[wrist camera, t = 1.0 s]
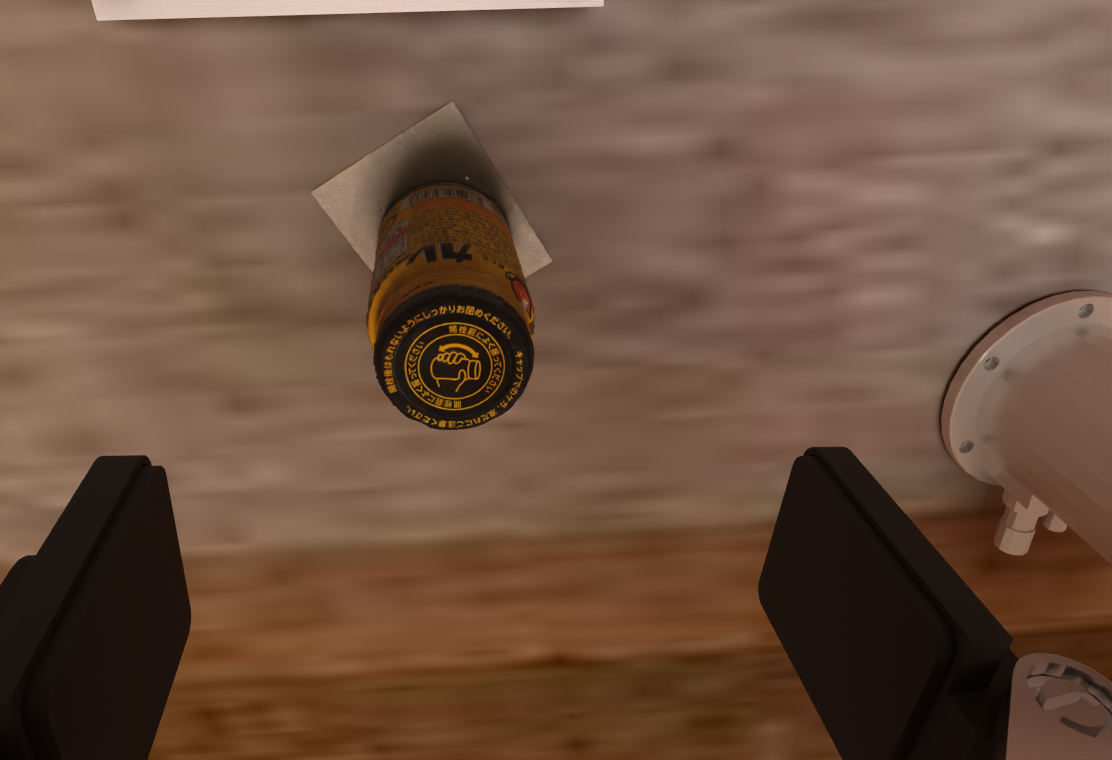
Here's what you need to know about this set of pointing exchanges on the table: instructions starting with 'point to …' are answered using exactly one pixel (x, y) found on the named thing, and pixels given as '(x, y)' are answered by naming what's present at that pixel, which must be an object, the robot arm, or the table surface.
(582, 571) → the table surface
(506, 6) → the dock
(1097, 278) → the table surface
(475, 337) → the condiment
